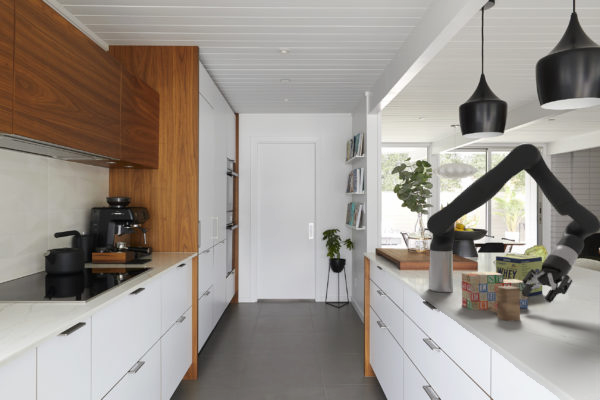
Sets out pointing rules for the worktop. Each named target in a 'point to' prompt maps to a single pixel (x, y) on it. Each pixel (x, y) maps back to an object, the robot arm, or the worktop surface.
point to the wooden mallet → (508, 303)
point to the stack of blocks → (486, 289)
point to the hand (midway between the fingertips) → (535, 297)
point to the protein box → (519, 268)
